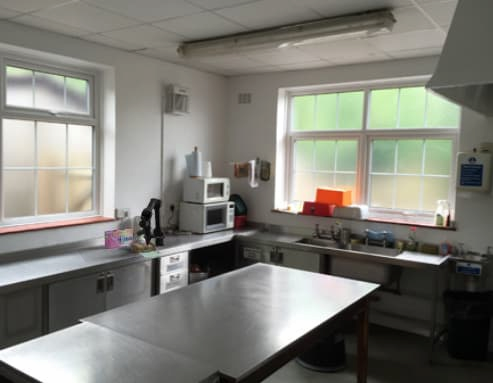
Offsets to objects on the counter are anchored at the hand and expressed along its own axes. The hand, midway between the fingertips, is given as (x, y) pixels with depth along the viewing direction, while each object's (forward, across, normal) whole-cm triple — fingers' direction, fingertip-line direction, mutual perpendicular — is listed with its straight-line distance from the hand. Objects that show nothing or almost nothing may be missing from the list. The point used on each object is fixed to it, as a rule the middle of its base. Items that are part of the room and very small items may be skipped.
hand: (147, 245), depth 346 cm
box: (+6, -13, 0) cm, 14 cm away
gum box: (+6, -37, -14) cm, 40 cm away
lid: (+6, +5, 0) cm, 8 cm away
